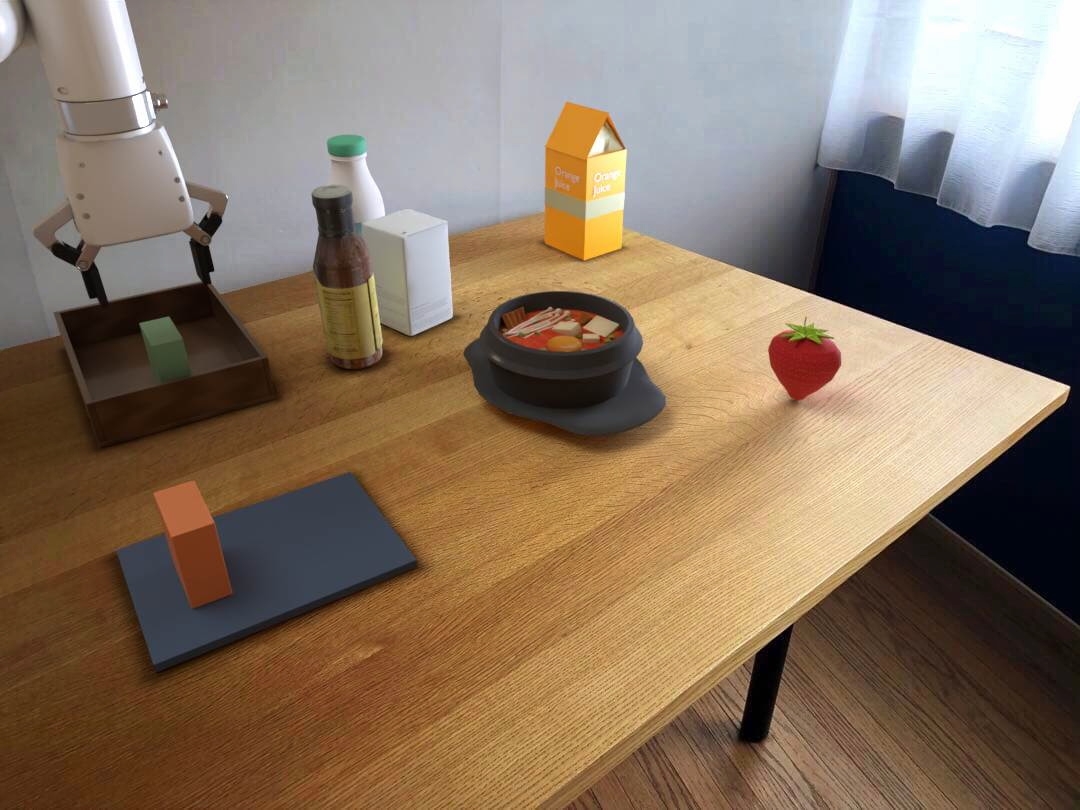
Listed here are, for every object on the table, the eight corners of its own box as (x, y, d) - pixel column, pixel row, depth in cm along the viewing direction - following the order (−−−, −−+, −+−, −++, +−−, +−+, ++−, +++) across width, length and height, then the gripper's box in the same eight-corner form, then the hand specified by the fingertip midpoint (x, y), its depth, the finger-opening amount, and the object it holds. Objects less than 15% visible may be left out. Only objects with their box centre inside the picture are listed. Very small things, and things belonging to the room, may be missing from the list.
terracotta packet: (192, 609, 64) (171, 537, 60) (173, 562, 68) (152, 492, 64) (232, 594, 65) (214, 522, 61) (212, 549, 69) (193, 479, 66)
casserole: (425, 369, 96) (419, 301, 92) (555, 324, 106) (556, 260, 101) (565, 476, 79) (567, 398, 75) (705, 411, 89) (714, 339, 84)
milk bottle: (373, 274, 118) (358, 126, 108) (403, 293, 113) (390, 139, 103) (323, 289, 114) (301, 136, 104) (351, 309, 109) (332, 150, 99)
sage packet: (167, 406, 88) (151, 346, 85) (154, 381, 93) (139, 322, 89) (197, 398, 90) (182, 338, 86) (183, 374, 94) (169, 316, 90)
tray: (100, 448, 83) (86, 404, 80) (65, 351, 99) (53, 312, 97) (275, 398, 91) (268, 357, 88) (216, 316, 107) (208, 279, 105)
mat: (156, 673, 60) (153, 665, 59) (118, 557, 70) (115, 549, 69) (417, 567, 69) (416, 559, 68) (351, 478, 79) (350, 471, 78)
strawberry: (818, 424, 87) (836, 336, 82) (750, 399, 91) (763, 314, 86) (841, 400, 91) (860, 315, 86) (775, 377, 95) (789, 294, 90)
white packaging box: (455, 318, 107) (450, 220, 100) (409, 338, 102) (401, 237, 96) (415, 301, 111) (408, 206, 105) (370, 319, 107) (359, 221, 100)
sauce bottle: (354, 341, 102) (333, 175, 91) (395, 354, 99) (378, 184, 89) (315, 364, 97) (288, 192, 86) (357, 379, 94) (335, 202, 84)
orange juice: (582, 231, 133) (586, 97, 122) (622, 248, 127) (630, 108, 117) (543, 243, 129) (544, 105, 118) (583, 261, 123) (587, 117, 112)
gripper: (195, 93, 83) (232, 260, 92) (-7, 120, 75) (54, 298, 84) (216, 109, 77) (253, 284, 87) (0, 139, 70) (65, 328, 79)
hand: (155, 291), depth 85 cm, fingers open, 9 cm apart
